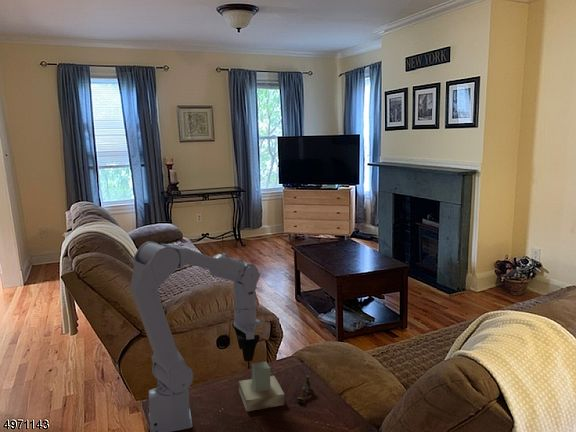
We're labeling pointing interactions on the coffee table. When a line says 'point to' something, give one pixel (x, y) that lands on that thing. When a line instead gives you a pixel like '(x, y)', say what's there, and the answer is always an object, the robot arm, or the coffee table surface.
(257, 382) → the sage block
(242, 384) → the beige flat square block
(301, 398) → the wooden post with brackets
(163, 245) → the robot arm
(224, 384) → the coffee table surface
